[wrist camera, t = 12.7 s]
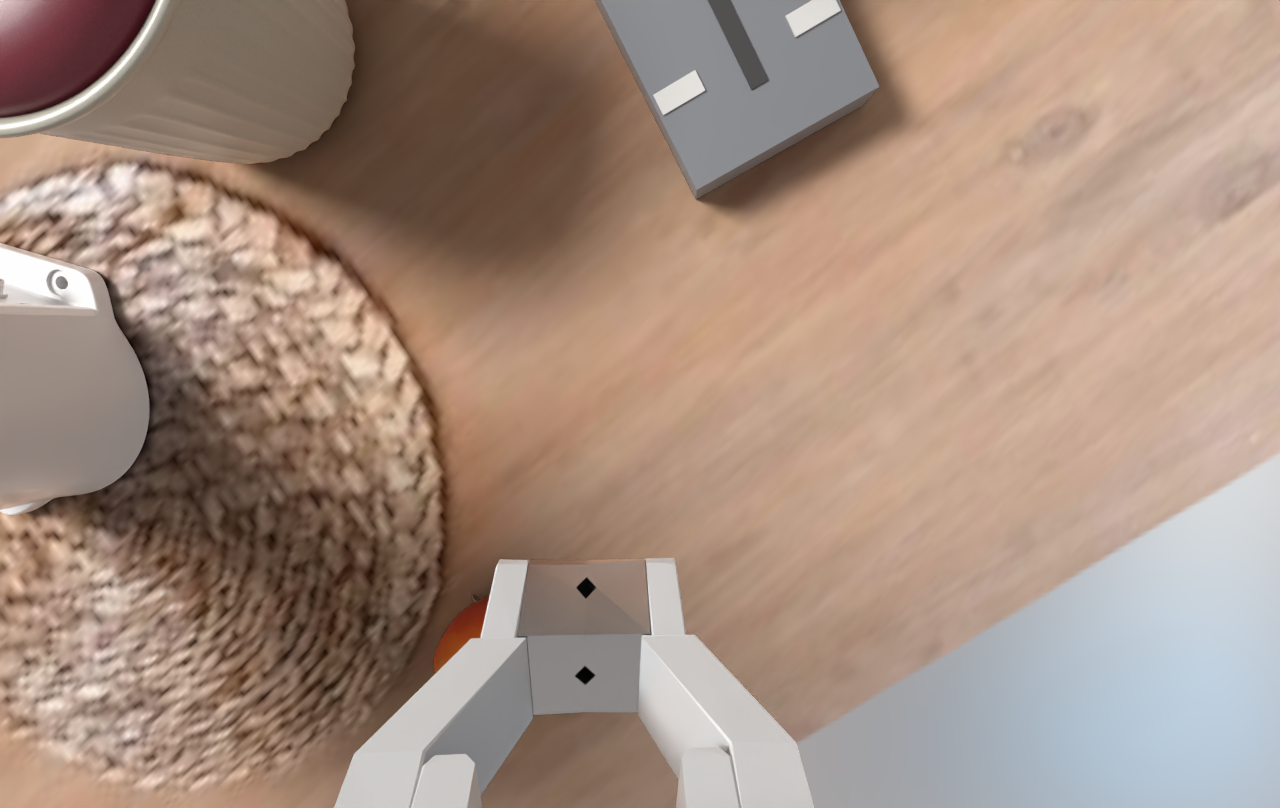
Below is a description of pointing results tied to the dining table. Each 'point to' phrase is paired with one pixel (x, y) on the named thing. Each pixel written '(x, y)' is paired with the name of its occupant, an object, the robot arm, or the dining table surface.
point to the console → (739, 76)
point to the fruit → (461, 632)
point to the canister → (176, 74)
